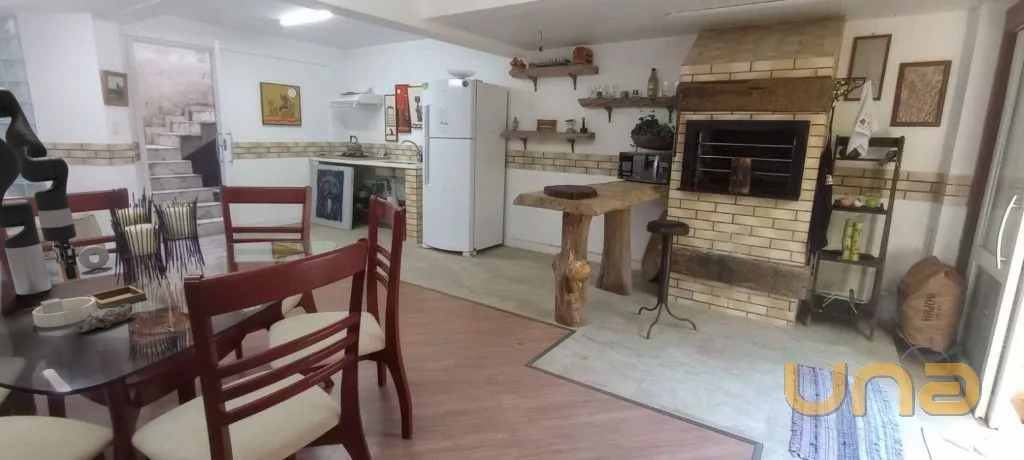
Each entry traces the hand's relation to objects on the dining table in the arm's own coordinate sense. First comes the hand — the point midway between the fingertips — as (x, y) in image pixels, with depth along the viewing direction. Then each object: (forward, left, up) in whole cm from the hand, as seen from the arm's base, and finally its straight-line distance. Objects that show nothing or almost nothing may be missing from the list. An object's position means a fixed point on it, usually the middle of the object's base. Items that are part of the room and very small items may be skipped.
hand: (70, 277), depth 154 cm
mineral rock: (+17, +2, -13) cm, 21 cm away
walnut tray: (-5, +12, -13) cm, 18 cm away
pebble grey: (0, -6, -12) cm, 13 cm away
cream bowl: (0, -3, -13) cm, 13 cm away
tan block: (0, 0, -1) cm, 1 cm away
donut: (-58, +20, -13) cm, 63 cm away
